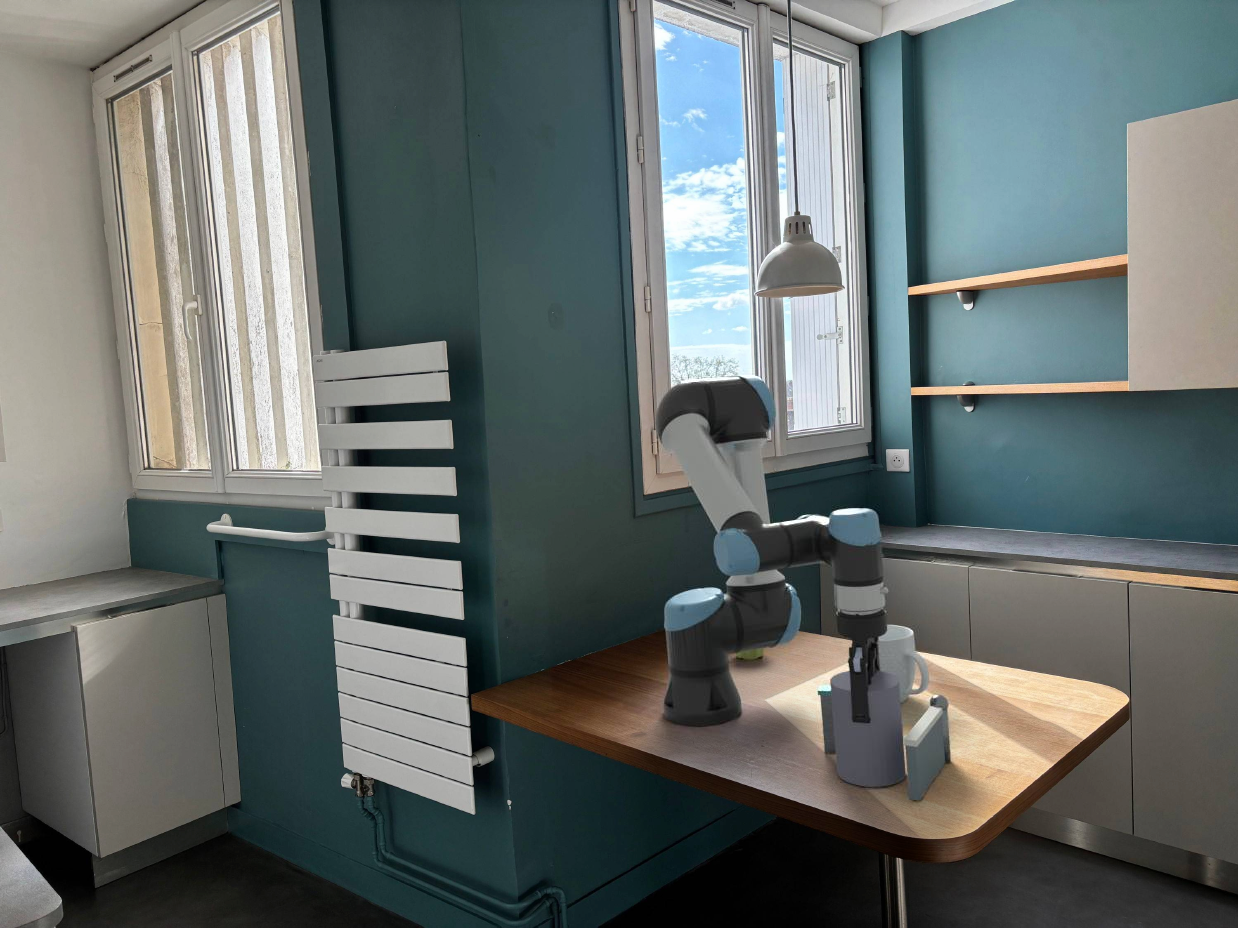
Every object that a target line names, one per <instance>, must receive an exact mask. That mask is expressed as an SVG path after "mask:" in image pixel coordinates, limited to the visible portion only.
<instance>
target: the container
mask: <svg viewBox="0 0 1238 928" xmlns="http://www.w3.org/2000/svg"><path fill="white" fill-rule="evenodd" d="M829 680H830V681H829V683H830V685H829V686H831V698H832V711H833V724H834V737H835V750H836V754H835V759H836V761H835V763H836V773H837V775H838V776H839V778H840V779H842V780H843V781H845V782H847V783H850V784H853V785H855V786H859V787H866V788H881V787H887V786H891V785H895V784H898V783H899V782H901V781H903V779H905V777H906V775H907V774H906V773H907V770H906V756H905V745H904V732H903V717H902V716H903V715H902V705H901V703H902V702H901V701H900V688H899V679H898V678H897V677H896V676H895V675H893V674H891V673H887V672H883V671H877V672H876V673H875V675H874V676H873V677H872V683H871V685H868V691H867V693H868V706H869V717H870V719H871V721H870V723H857V722H853V721H852V702H851V685H850V671H849V670H847V671H843V672H839V673H837V674H834V675H833V676H832V677H831V678H830V679H829ZM861 716H865V715H861Z"/></svg>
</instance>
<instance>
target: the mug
mask: <svg viewBox="0 0 1238 928" xmlns="http://www.w3.org/2000/svg"><path fill="white" fill-rule="evenodd" d="M878 638H879V640H878V647H879V661H880V671H883V672H887V673H891V674H893V675H895V676H896V677H897V678H898V679H899V688H900V701H901V703H903V702H905V701H906V700H907V699H908V697H909V696H912V695H919V694H922V693H924V692H925V691H926V690H927V688H928V687H929V683H930V672H929V668H928V665H927V663H926V661H925V659H924V658H923V656H922V655H921V654H920V653H918V652H917V651H916V643H915V633H914V631H913V630H912V629H911V628H909V627H906V626H904V625H903V626H902V625H896V624H887V632H886V633H885V634H884V635H882V636H880V637H878ZM916 666H918V669H919V672H920V676H921V679H920V680H921V682H920V686H919V687H918V688H917V689H913V686H914V684H915V679H916V677H915V676H916V673H917V672H916V670H917V669H916V668H917V667H916Z"/></svg>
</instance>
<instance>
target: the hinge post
mask: <svg viewBox="0 0 1238 928" xmlns="http://www.w3.org/2000/svg"><path fill="white" fill-rule="evenodd" d="M930 706H933V707H941V708H942V710H943V714H942V724H943V739H944V753H945V764H944V765H947V764H950V763H951V762H952V757H951V743H950V726H949V714H948V709H949V701H948V699H947V698H946V696H944V695H942V694H935V695H933V696H931V698H930V700H929V707H930Z"/></svg>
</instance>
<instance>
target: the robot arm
mask: <svg viewBox="0 0 1238 928" xmlns="http://www.w3.org/2000/svg"><path fill="white" fill-rule="evenodd" d="M776 417H777V409H776V403H775V399H774V396H773V394H772V391H771V389H770V387H769V386H768V384H767V383H765V381H764V380H763V379H762V378H760V377H758V376H757V375H753V374H752V375H750V374H749V375H745V374H744V375H741V374H735V375H730V376H729V375H727V376H720V377H709V378H699V379H697V378H694V379H693V378H692V379H686V380H683V381H680V382H679V383H677V384H675V385H673V386H672V387H670V389H669V390H668V391H666V393H665V394H664V395H663V397H662V399H661V401H660V402H659V404H658V407H657V409H656V414H655V429H656V434H657V437H658V439H659V442H660V444H661V445H662V447H663V448H664V450H665V451H666V452H667V453H669V454H670V455H674V457H675V459H676V461H677V463H678V464H679V467H680V468H681V470H682V471H683V473H684V475H685V477H686V479H687V480H688V482H689V484H690V486H691V488H692V491H694V494H695V495H696V496H697V498H698V500H699V502H700V505H702V508H703V509H704V511H705V513H706V514H707V516H708V517H709V520H710V521H711V523H712V525H713V527H714V529H715V531H716V532H717V534H716V535H715V537H714V540H713V553H714V557H715V559H716V565H717V567H718V568H719V570H720V571H721V572H722V573H723V574H725V575H726V576H730V577H729V578H728V580H727V581H726V582H725V584H726V593H723V591H722V590H721V589H720V588H717V587H704V588H694V589H690V590H686V591H682V592H680V593H678V594H676V595H674V596H672V597H671V598H670V599H669V600H668V601H666V603H665V606H664V611H663V612H664V622H663V627H664V629H665V639H666V650H667V661H668V662H667V663H668V671H669V677H668V680H667V681H668V682H667V685H666V689H665V694H664V698H663V716H664V718H666V719H667V720H668V721H670V722H671V723H674V724H678V725H682V726H690V727H691V726H693V727H698V726H700V727H701V726H712V725H718V724H719V725H720V724H722V723H727V722H729V721H732V720H734V719H736V718H737V717H738V716H740V714H742V713H741V712H742V698H741V695H740V693H739V691H738V688H737V686H736V683H735V682H734V679H733V676H732V674H731V671H730V663H729V662H730V661H729V655H733V654H736V653H740V652H744V651H750V650H755V649H761V648H764V649H765V648H775V647H777V646H780V645H784V644H788V643H790V642H791V641H792V640H793V639H794V638H795V637H796V636H797V634H798V632H799V630H800V626H801V619H802V609H801V608H802V607H801V603H800V602H801V601H800V598H799V597H798V596H797V595H798V593H797V591H796V589H795V587H793V585H791V584H789V583H786V578H785V577H786V576H784V574H782V573H781V572H780V571H778V570H780V569H781V570H782V569H789V568H794V567H801V566H802V567H803V566H808V565H815V564H826V565H829V566H832V575H833V591H834V593H833V594H834V595H833V596H834V606H835V608H837V610H836V616H835V617H836V627H837V633H838V634H839V635H840V636H842V637H843V638H849V639H850V640H851V646H849V647H848V656H849V657H848V660H847V664H848V671H850V685H851V702H852V721H853V722H857V723H870V721H871V719H870V717H869V706H868V693H867V691H868V685H871V683H872V677H873V676H874V675H875V673H876V672H877V671H880V661H879V647H878V640H879V638H878V637H880V636H882V635H884V634H885V633H886V632H887V625H888V619H887V611H886V610H885V609H884V607H885V605H886V598H885V595H887V594H888V593H889V589H888V587H884V568H883V567H884V565H883V563H884V562H883V549H882V537H883V536H882V531H881V530H880V522H879V515H878V514H877V512H876V511H875V510H874V509H871V508H865V507H864V508H859V507H858V508H857V507H856V508H855V507H854V508H853V507H852V508H841V509H837V510H834V511H832V512H831V513H830V514H829V516H826V515H822V514H816V513H815V514H805V515H801V516H799V517H798V518H796V519H795V520H788V521H783V522H779V521H778V522H773V523H771V519H770V512H769V503H768V495H767V494H768V493H767V487H766V480H765V479H766V478H765V471H764V470H765V469H764V464H763V463H764V462H763V455H762V449H763V447H764V446H765V444H766V443H767V441H768V434H767V433H768V432H769V431H771V430H772V429H773V427H774V426H775V424H776V420H775V419H776ZM861 715H865V716H861Z"/></svg>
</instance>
